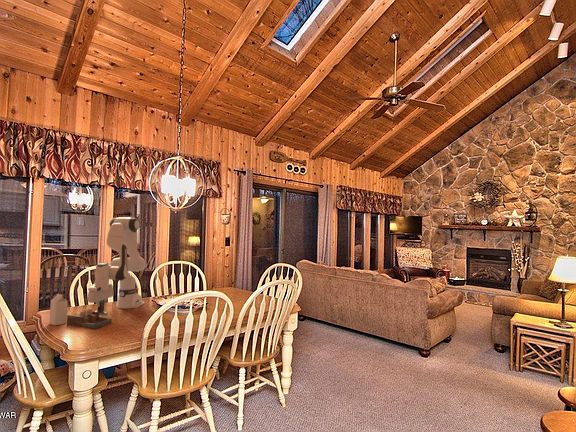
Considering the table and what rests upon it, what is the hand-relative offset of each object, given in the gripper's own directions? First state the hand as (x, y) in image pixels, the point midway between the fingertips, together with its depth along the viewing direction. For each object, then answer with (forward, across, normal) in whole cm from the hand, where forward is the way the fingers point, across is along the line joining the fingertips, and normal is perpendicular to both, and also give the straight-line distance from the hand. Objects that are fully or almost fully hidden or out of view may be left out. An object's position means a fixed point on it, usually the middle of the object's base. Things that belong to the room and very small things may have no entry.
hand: (100, 305), depth 241 cm
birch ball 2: (+1, +11, +1) cm, 11 cm away
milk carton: (+8, +20, -15) cm, 26 cm away
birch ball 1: (+1, +16, +1) cm, 16 cm away
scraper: (+6, 0, 0) cm, 6 cm away
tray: (+8, +14, +10) cm, 19 cm away
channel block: (+8, +14, -1) cm, 16 cm away
